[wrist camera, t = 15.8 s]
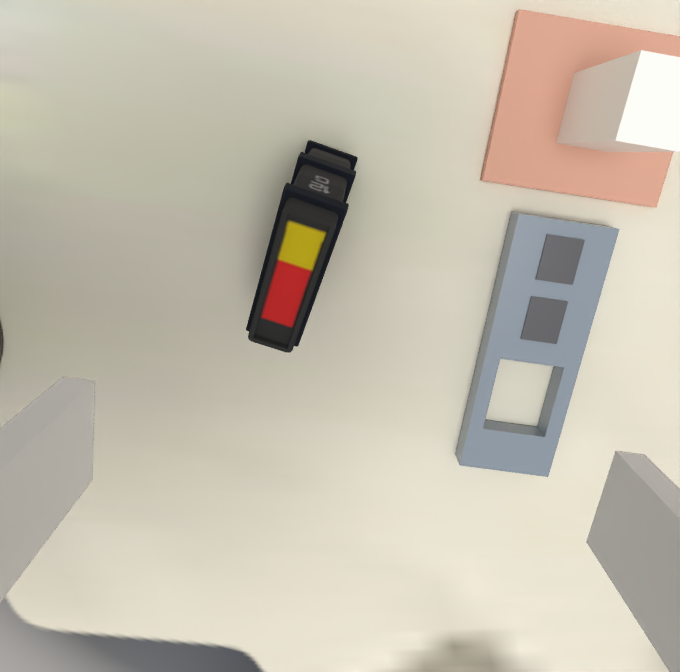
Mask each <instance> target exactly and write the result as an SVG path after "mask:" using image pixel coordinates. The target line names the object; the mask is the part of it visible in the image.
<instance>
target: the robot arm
mask: <svg viewBox="0 0 680 672" xmlns="http://www.w3.org/2000/svg"><path fill="white" fill-rule="evenodd" d="M1 355H2V332H1V326H0V360H1ZM94 402H95V381H92V380H84V379H77V378H69V377H62V378H61V379H60V380H59V381H57V382H56V383H55V384H54V385H52V386H51V387H50V388H49V389H48V390H46V391H45V392H44V393H43V394H41V395H40V396H39V397H38V398H37V399H35V400H34V401H33V402H32V403H30V404H29V405H28V406H27V407H25V408H24V409H23V410H22V411H21V412H19V413H18V414H17V415H16V416H14V417H13V418H12V419H11V420H10V421H8V422H7V423H6V424H5V425H3V426H2V427H1V428H0V602H1V601H2V600H3V598H4V597H5V596H6V594H7V593H8V592H9V590H10V589H11V588H12V586H13V585H14V584H15V582H16V581H17V580H18V578H19V577H20V576H21V574H22V573H23V572H24V570H25V569H26V568H27V566H28V565H29V564H30V562H31V561H32V560H33V558H34V557H35V556H36V554H37V553H38V552H39V550H40V549H41V548H42V546H43V545H44V544H45V542H46V541H47V540H48V538H49V537H50V536H51V534H52V533H53V532H54V530H55V529H56V528H57V526H58V525H59V524H60V522H61V521H62V520H63V518H64V517H65V516H66V514H67V513H68V512H69V510H70V509H71V508H72V506H73V505H74V504H75V502H76V501H77V500H78V498H79V497H80V496H81V494H82V493H83V492H84V490H85V489H86V488H87V486H88V485H89V484H90V482H91V481H92V479H93V441H94ZM587 544H588V545H589V547H590V548H591V550H592V551H593V553H594V555H595V556H596V558H597V559H598V561H599V562H600V564H601V565H602V567H603V569H604V570H605V572H606V573H607V575H608V576H609V578H610V580H611V581H612V583H613V584H614V586H615V587H616V589H617V590H618V592H619V594H620V595H621V597H622V598H623V600H624V601H625V603H626V604H627V606H628V608H629V609H630V611H631V612H632V614H633V615H634V617H635V619H636V620H637V622H638V623H639V625H640V626H641V628H642V629H643V631H644V633H645V634H646V636H647V637H648V639H649V640H650V642H651V643H652V645H653V647H654V648H655V650H656V651H657V653H658V654H659V656H660V658H661V659H662V661H663V662H664V664H665V665H666V667H667V668H668V670H669V672H680V489H679V488H678V487H677V486H676V485H675V484H674V483H673V482H672V481H671V480H670V479H669V478H668V477H667V476H666V475H665V474H664V473H663V472H662V471H661V470H660V469H659V468H658V467H657V466H656V465H655V464H654V463H653V462H652V461H651V460H650V459H649V458H648V457H647V456H646V455H644V454H637V453H629V452H622V451H615V454H614V458H613V461H612V464H611V467H610V470H609V473H608V476H607V479H606V482H605V486H604V489H603V492H602V495H601V498H600V501H599V504H598V507H597V510H596V514H595V517H594V520H593V523H592V526H591V529H590V532H589V535H588V538H587Z"/></svg>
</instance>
